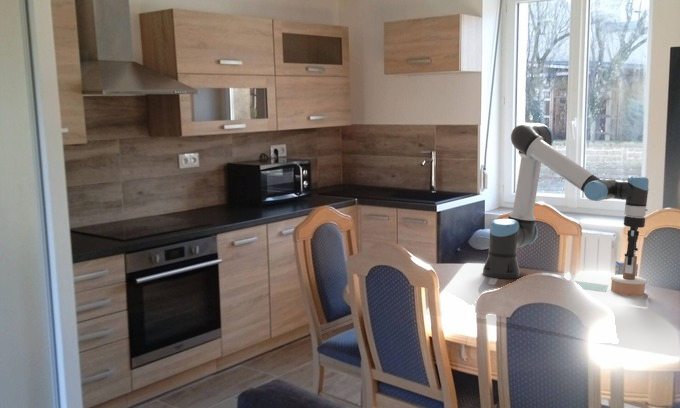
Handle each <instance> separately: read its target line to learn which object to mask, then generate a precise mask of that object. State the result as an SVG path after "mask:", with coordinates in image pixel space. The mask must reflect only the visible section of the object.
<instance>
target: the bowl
mask: <svg viewBox="0 0 680 408" xmlns="http://www.w3.org/2000/svg"><path fill="white" fill-rule="evenodd" d="M610 285H611V286H610V291H612V292H614V293H616V294H620V295H625V296H644V295H645V289H646V288H645V287H646V284H641V285H636V284H626V283H620V282H616V281H613V280H612V279H611V284H610Z"/></svg>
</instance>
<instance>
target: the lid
mask: <svg viewBox="0 0 680 408" xmlns="http://www.w3.org/2000/svg"><path fill="white" fill-rule="evenodd" d="M637 261H638V256H637V255H635V256H634V262H633V272H632V274H630V273H625V265H626V256H625V255H624V270H623V275H615V274H613V275H611V276H610V279H611V281H612V280H613V281H616V282H620V283H626V284H636V285H641V284H645V285H646V284H647V282H648V280H647V279H645V278H643V277H641V276H638V275H637V276H635V272H636V263H637Z"/></svg>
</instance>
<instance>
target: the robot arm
mask: <svg viewBox="0 0 680 408" xmlns="http://www.w3.org/2000/svg"><path fill="white" fill-rule="evenodd" d="M510 141H511V144H512V145H513V147H514V148H515V149H517V151H518V155H519V156H520V164H519V169H518V176H517V181H516V182H517V183H516V189H515V196H514V197H515V198H514V204H513V210H512V211H511V212H510V213H509V214H508V217H507V218H499V219H498V218H497V219H495V220H492V222H491V223H490V228H489V241H488V242H489V244H488V255H487V258H486V260H485V264H484V265H483V270H482V273H483V275H484V276H486V277H490V278H493V279H494V278H495V279H496V278H497V279H507V280H511V279H512V280H513V279H518V278H519V277H520V273H521V272H520V271H521V270H520V268H519V263H518V259H517V255H518V253H517V252H518V249H521V248H525V247H528V246H531V244H533V243H535V241H536V240H537V238H538V236H539V229H538V227H537V225H536V221H537V219H536V216H535V215H534V209H535V206H536V199H537V192H538V186H539V185H538V184H539V179H540V173H541V168H542V165H544V166H545V167H546V168H548V169H550V170H551V171H553V172H554V173H555V174H557V175H558V176H560V177H561V178H562V179H564V180H565V181H567V182H568V183H570V184H571V185H573V186H574V187H576V188H577V189H578V190H580V191H581V192H583V194H584V195H585V197H586V198H587V199H588V200H589V201H594V202H599V201H602V200H603V201H604V200H610V199H613V200H625V204H624V215H625V216H624V217H623V225H624V227H629V229H628V230H627V235H626V236H627V248H626V252H625V253H624V257H625V256H626V265H625V273H630V274H632V272H633V262H634V256H637V255H636V253H637V252H638V251H639V248H637V242H638V240H639V239H638V238H639V233H640V231H638V229H639V228H640V229H641V228H645V223H646V218H645V216H646V212H649V211H648V210H649V209H648V208H647V203H648V195H649V178H647V177H646V176H639V175H638V176H635V175H630V176H628V178H627V180H622V179H621V180H620V179H612V178H599V177H597V176H595V175H594V174H593V173H591V172H590V171H589V170H587V169H586V168H584V167H583V166H581V165H580V164H578V163H577V162H575V161H574V160H572V159H570V157H568V156H566V155H565V154H563V153H562V152H560V151H559V150H557V149H556V148H554V147H553V143H554V134H553V131H552V129H551V128H550V126H548V125H545V124H543V123H540V122H523V123H519V124H518V125H516V126H515V127H514V128H513V129H512V132H511V135H510Z"/></svg>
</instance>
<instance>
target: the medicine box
mask: <svg viewBox="0 0 680 408" xmlns="http://www.w3.org/2000/svg"><path fill="white" fill-rule="evenodd" d="M623 270H624V261H622V260H621V261H620V260H619V261H617V260H616V261H615V268H614V275H623ZM638 271H639V264H638V263H637V262H636V272H635V276H637V277H638Z"/></svg>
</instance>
